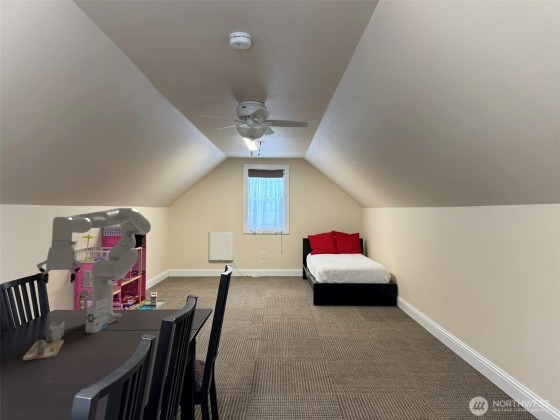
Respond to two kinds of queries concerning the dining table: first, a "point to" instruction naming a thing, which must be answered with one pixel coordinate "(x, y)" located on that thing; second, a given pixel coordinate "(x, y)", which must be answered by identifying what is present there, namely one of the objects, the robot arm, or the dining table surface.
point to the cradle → (44, 348)
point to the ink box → (97, 316)
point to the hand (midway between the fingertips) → (59, 282)
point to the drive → (57, 329)
